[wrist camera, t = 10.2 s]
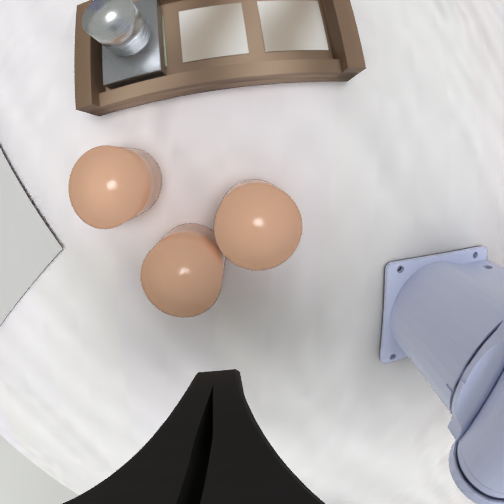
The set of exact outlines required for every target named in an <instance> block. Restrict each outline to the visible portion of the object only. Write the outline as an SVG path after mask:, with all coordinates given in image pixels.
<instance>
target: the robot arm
mask: <svg viewBox="0 0 504 504" xmlns="http://www.w3.org/2000/svg"><path fill="white" fill-rule="evenodd" d="M474 252H475V253H474ZM473 254H474V256H473ZM399 266H401V269H400V271H397V269H398V267H399ZM392 354H394V355H393V356H391V355H392ZM390 356H391V357H390ZM407 357H409V358H410V360H411V361H412V362H413V364H414V365H415V366H416V367H417V369H418V370H419V371H420V373H421V374H422V375H423V376H424V378H425V379H426V380H427V382H428V383H429V384H430V386H431V387H432V388H433V390H434V391H435V392H436V394H437V395H438V396H439V398H440V399H441V400H442V402H443V403H444V404H445V406H446V407H447V408H448V410H449V411H450V413H451V414H452V419H451V422H450V423H449V425H448V429H449V430H450V432H451V433H452V435H453V436H454V438H455V439H456V441H455V442H454V444H453V445H452V447H451V450H450V453H449V468H450V472H451V475H452V477H453V480H454V482H455V483H456V485H457V487H458V488H459V489H460V491H461V492H462V493H463V494H464V495H465V496H466V497H467V498H469V499H470V500H472V501H473V502H475V503H477V504H504V268H502V267H500V266H498V265H496V264H494V263H492V262H490V261H488V260H487V248H486V247H484V246H478V247H473V248H468V249H462V250H457V251H451V252H446V253H440V254H435V255H429V256H423V257H417V258H411V259H406V260H400V261H394V262H390V263H389V264H387V266H386V269H385V293H384V311H383V326H382V338H381V348H380V360H381V362H382V363H389V362H393V361H396V360H400V359H404V358H407ZM63 504H325V503H324V502H323V501H321V500H320V499H319V498H318V497H317V496H316V495H315V494H314V493H312V492H311V491H310V490H309V489H308V488H307V487H306V486H305V485H304V484H303V483H302V482H301V481H300V480H299V479H298V477H297V476H296V475H295V474H294V473H293V472H292V471H291V470H290V469H289V468H288V467H287V465H286V464H285V463H284V462H283V461H282V459H281V458H280V457H279V456H278V454H277V453H276V451H275V450H274V449H273V447H272V446H271V445H270V443H269V442H268V440H267V439H266V437H265V435H264V434H263V432H262V431H261V429H260V427H259V425H258V424H257V422H256V420H255V418H254V416H253V414H252V412H251V410H250V408H249V406H248V403H247V401H246V399H245V396H244V392H243V386H242V381H241V376H240V372H239V371H238V370H236V369H233V370H223V371H212V372H199V373H197V375H196V376H195V377H194V379H193V381H192V382H191V384H190V386H189V387H188V389H187V391H186V392H185V394H184V395H183V397H182V398H181V400H180V401H179V403H178V404H177V406H176V407H175V408H174V410H173V411H172V413H171V414H170V416H169V417H168V418H167V420H166V421H165V422H164V423H163V425H162V426H161V427H160V428H159V429H158V431H157V432H156V433H155V434H154V436H153V437H152V438H151V439H150V440H149V441H148V442H147V443H146V444H145V445H144V447H143V448H142V449H141V450H140V451H139V452H138V453H137V454H136V455H134V456H133V457H132V458H131V459H130V460H129V461H128V462H127V463H126V464H124V465H123V466H122V467H121V468H120V469H118V470H117V471H116V472H115V473H113V474H112V475H111V476H110V477H108V478H107V479H105V480H104V481H102V482H101V483H99V484H98V485H96V486H95V487H93V488H92V489H90V490H88V491H87V492H85V493H83V494H81V495H79V496H78V497H76V498H74V499H72V500H70V501H67V502H65V503H63Z"/></svg>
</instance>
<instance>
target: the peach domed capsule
mask: <svg viewBox="0 0 504 504" xmlns="http://www.w3.org/2000/svg"><path fill="white" fill-rule="evenodd" d="M214 234H215V239H216V242H217V244H218V246H219V248H220V250H221V252H222V253H223V254H224V255H225V257H226V258H227V259H229V260H230V261H231V262H232V263H234V264H236V265H237V266H240V267H242V268H245V269H249V270H266V269H270V268H273V267H276V266H278V265H280V264H281V263H283V262H284V261H286V260H287V259H288V258H289V257H290V256H291V255H292V254H293V252H294V251H295V250H296V248H297V246H298V244H299V241H300V238H301V234H302V220H301V215H300V212H299V210H298V207H297V206H296V204H295V202H294V201H293V200H292V199H291V198H290V197H289V196H288V195H287V194H286V193H285V192H283V191H282V190H280V189H279V188H277V187H275V186H274V185H272V184H270V183H268V182H265V181H262V180H247V181H243V182H241V183H238V184H237V185H235V186H234V187H232V188H231V189H230V190H229V191H228V192H227V193H226V195H225V196H224V198H223V200H222V202H221V204H220V207H219V209H218V211H217V214H216V217H215V222H214Z"/></svg>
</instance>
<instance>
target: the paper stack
mask: <svg viewBox="0 0 504 504" xmlns="http://www.w3.org/2000/svg"><path fill="white" fill-rule="evenodd" d="M62 249H63V248H62V247H61V246H60V244H59V243H58V241H57V240H56V238H55V237H54V236H53V234H52V233H51V231H50V230H49V228H48V227H47V225H46V224H45V222H44V221H43V219H42V218H41V216H40V215H39V213H38V212H37V210H36V209H35V207H34V206H33V204H32V202H31V201H30V199H29V198H28V196H27V194H26V193H25V191H24V189H23V188H22V186H21V184H20V183H19V181H18V179H17V178H16V176H15V174H14V172H13V171H12V169H11V167H10V165H9V163H8V162H7V160H6V158H5V156H4V154H3V152H2V150H1V148H0V325H1V323H2V322H3V321H4V319H5V318H6V316H7V315H8V314H9V312H10V311H11V310H12V309H13V307H14V306H15V305H16V303H17V302H18V301H19V299H20V298H21V297H22V296H23V294H24V293H25V292H26V291H27V289H28V288H29V287H30V286H31V285H32V283H33V282H34V281H35V280H36V279H37V277H38V276H39V275H40V274H41V273H42V271H43V270H44V269H45V268H46V267H47V266H48V265H49V263H50V262H51V261H52V260H53V259H54V258H55V257H56V256H57V254H58V253H59V252H60V251H61V250H62Z"/></svg>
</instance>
